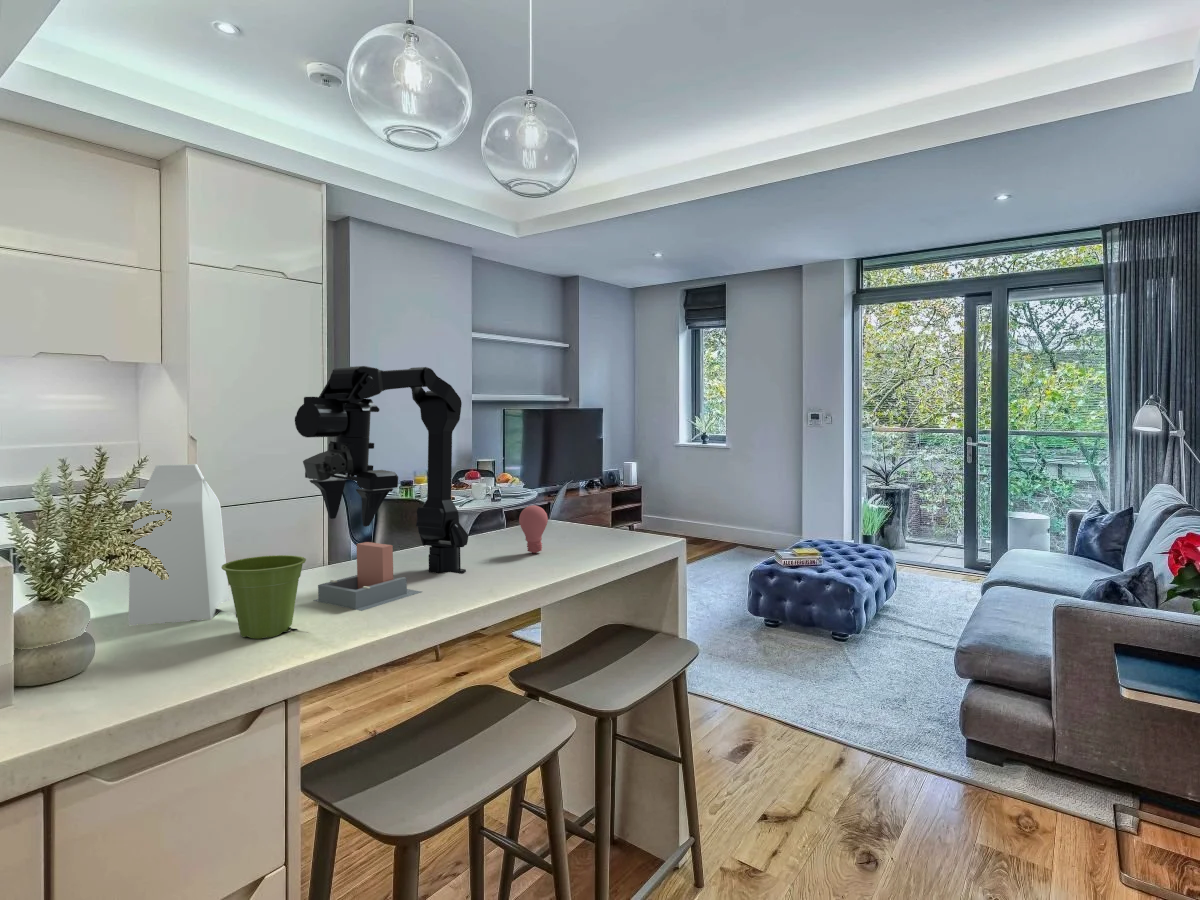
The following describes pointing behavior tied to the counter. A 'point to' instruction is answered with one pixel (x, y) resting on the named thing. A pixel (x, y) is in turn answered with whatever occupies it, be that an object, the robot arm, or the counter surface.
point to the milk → (180, 550)
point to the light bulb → (533, 526)
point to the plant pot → (264, 593)
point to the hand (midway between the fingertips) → (349, 522)
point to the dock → (362, 593)
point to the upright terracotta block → (374, 563)
